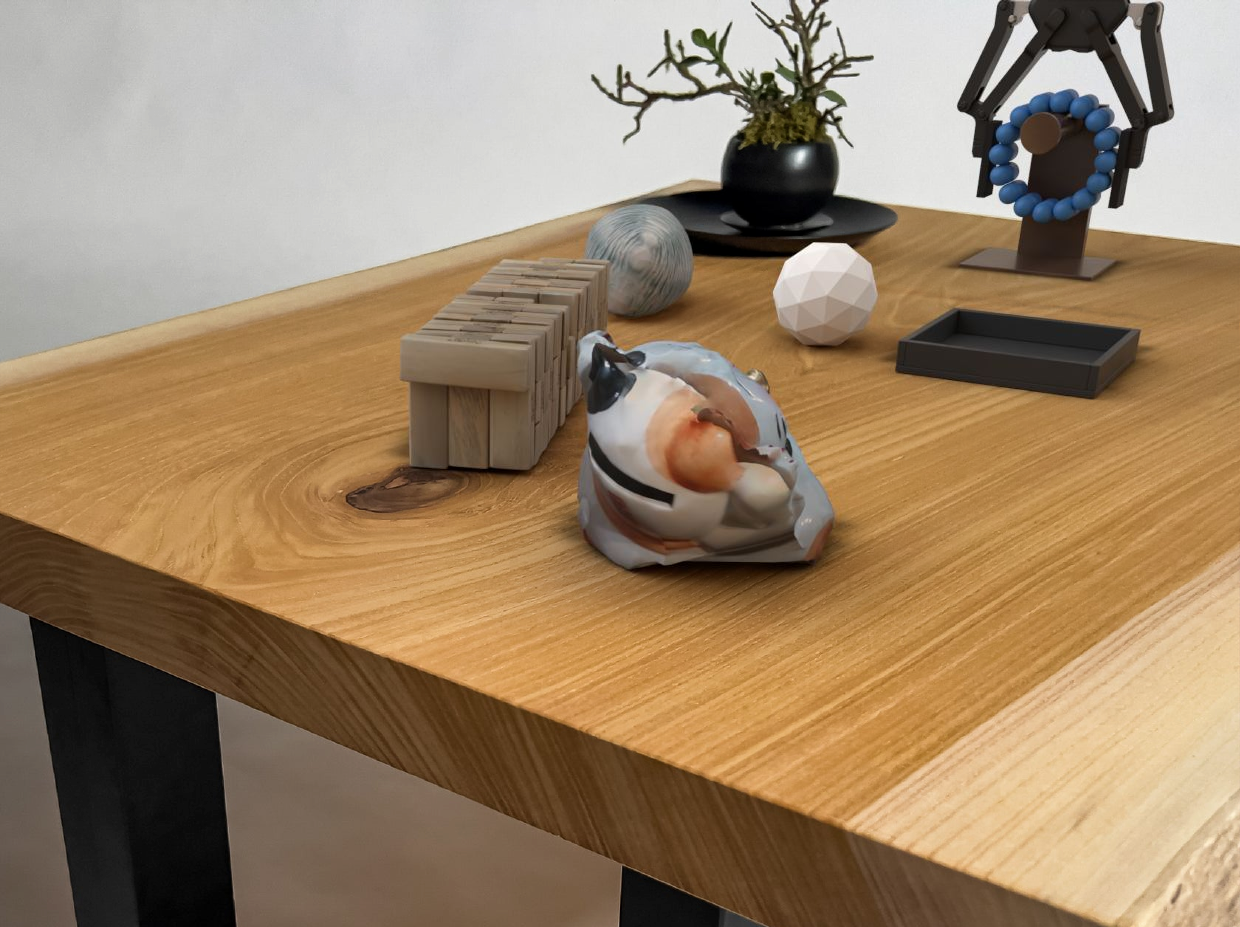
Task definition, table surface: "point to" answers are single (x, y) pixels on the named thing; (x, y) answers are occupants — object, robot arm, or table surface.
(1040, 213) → the blue beaded bracelet
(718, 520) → the lucky cat figurine
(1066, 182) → the bracelet rack
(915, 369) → the tray
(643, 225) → the grey streaked rounded piece
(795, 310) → the geometric ball
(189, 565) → the table surface
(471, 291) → the block tower
